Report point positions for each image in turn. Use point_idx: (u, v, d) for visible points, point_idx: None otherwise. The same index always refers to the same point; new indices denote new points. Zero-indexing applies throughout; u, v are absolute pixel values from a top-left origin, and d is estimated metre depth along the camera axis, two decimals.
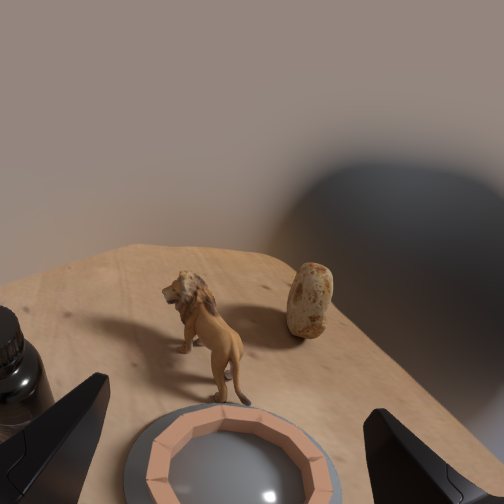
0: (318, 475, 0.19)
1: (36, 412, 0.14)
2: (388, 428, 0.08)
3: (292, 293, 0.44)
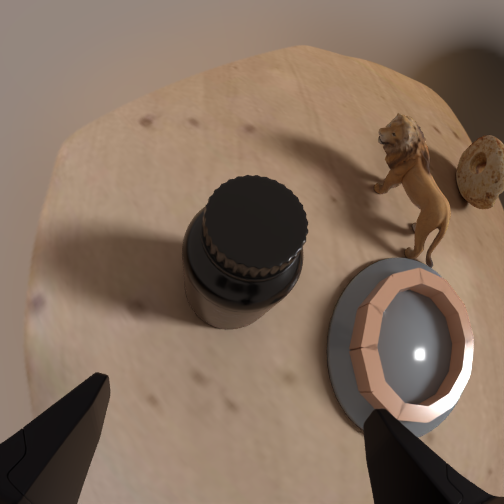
0: (467, 356, 0.23)
1: None
2: (388, 428, 0.08)
3: (470, 155, 0.33)
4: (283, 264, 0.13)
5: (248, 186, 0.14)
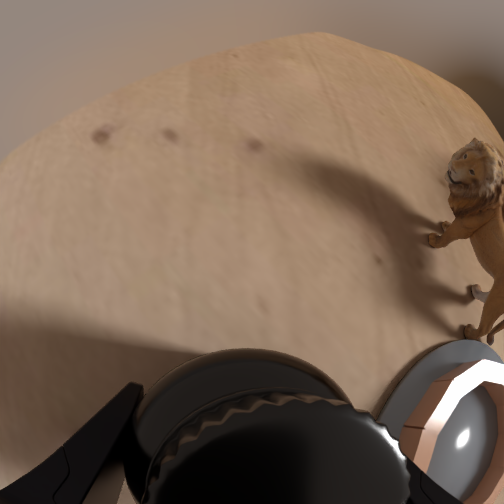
0: None
1: None
2: None
3: None
4: None
5: (268, 447, 0.04)
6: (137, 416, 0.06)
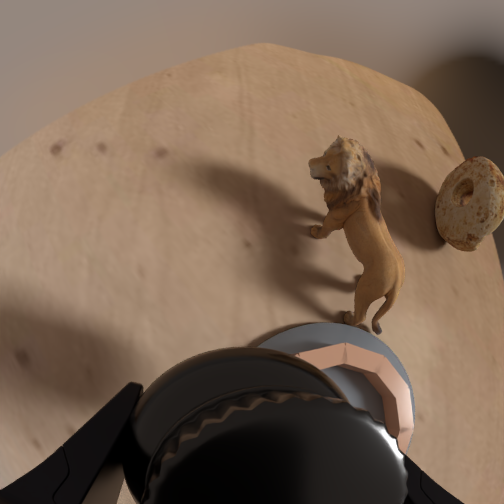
0: None
1: None
2: None
3: (455, 181, 0.28)
4: None
5: (268, 444, 0.04)
6: (136, 414, 0.06)
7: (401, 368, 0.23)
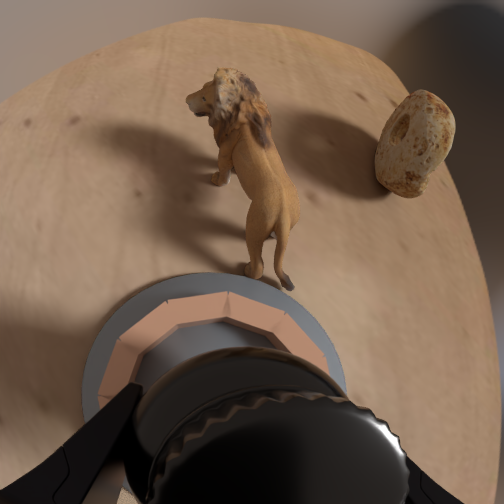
0: None
1: None
2: None
3: (393, 122, 0.25)
4: None
5: (272, 443, 0.04)
6: (138, 414, 0.06)
7: (321, 334, 0.21)
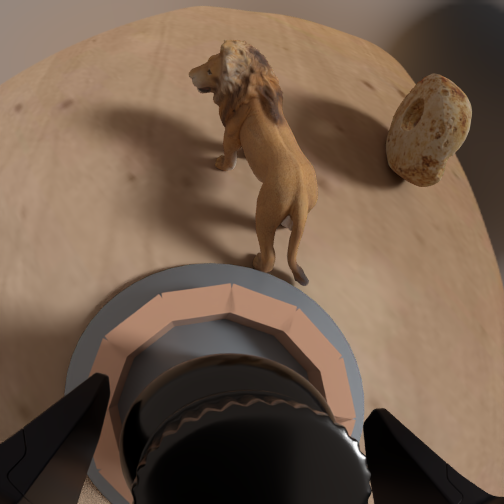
0: None
1: None
2: (388, 428, 0.08)
3: (405, 107, 0.23)
4: None
5: (236, 441, 0.05)
6: (132, 414, 0.07)
7: (336, 333, 0.18)
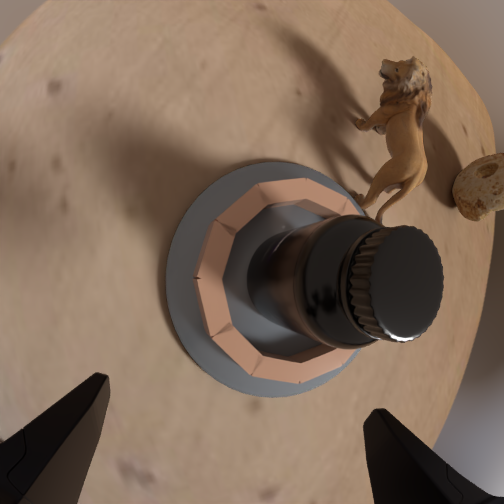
0: None
1: None
2: (388, 428, 0.08)
3: (483, 162, 0.28)
4: None
5: (418, 244, 0.11)
6: (332, 225, 0.14)
7: None
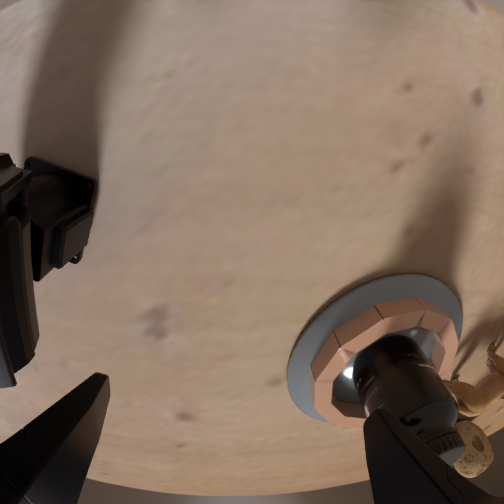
0: (352, 420, 0.25)
1: None
2: (388, 428, 0.08)
3: (481, 437, 0.29)
4: None
5: (456, 457, 0.14)
6: (454, 405, 0.16)
7: None
